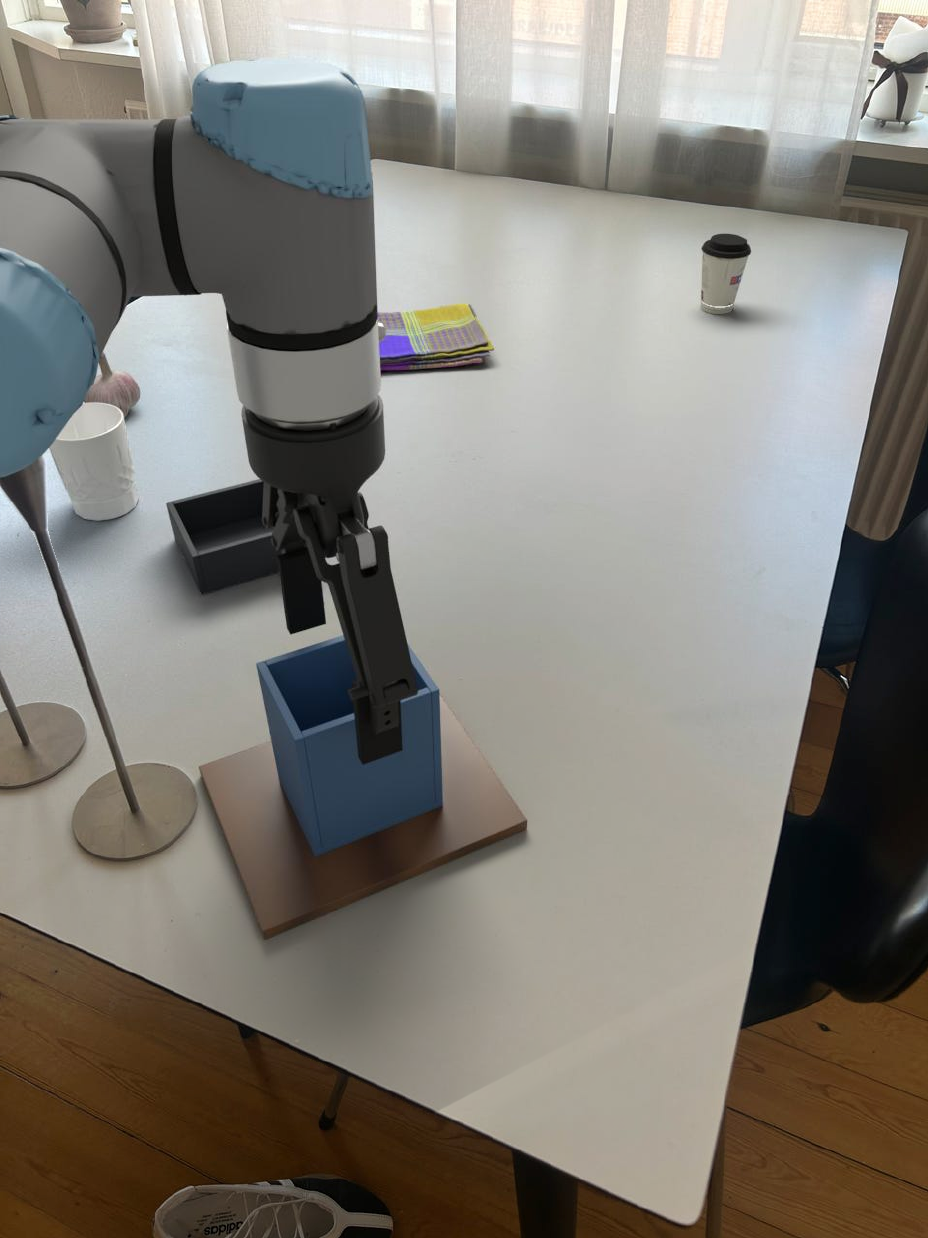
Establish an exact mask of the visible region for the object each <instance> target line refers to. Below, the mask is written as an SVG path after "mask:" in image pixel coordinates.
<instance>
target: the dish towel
mask: <svg viewBox="0 0 928 1238" xmlns="http://www.w3.org/2000/svg"><path fill="white" fill-rule="evenodd" d="M378 323H382V325H383V326H384V328H385V329H386V337H385V339H384V340H382V341H380V342H379V356H380V372H383V371H404V370H406V371H407V370H421V369H423V370H424V369H436V368H437V369H438V368H450V367H452V368H453V367H460V366H464V365H465V366H466V365H471V364H481V363H483V357H490V356H491V352H493V351H495V347H494V346H493V343H492V341H491V340H490V339H489V337H488V335H487V333H486V332H485V330H484V328H483V326H482V323H481V322H480V321H479V319H478V315H477V313H476V310H475V308H474V307H473V306H472V304H469V303H466V302H461V303H455V304H450V305H445V306H440V307H439V306H438V307H432V308H425V309H413V310H409V311H394V312H393V311H392V312H378Z"/></svg>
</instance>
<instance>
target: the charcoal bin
mask: <svg viewBox="0 0 928 1238" xmlns="http://www.w3.org/2000/svg"><path fill="white" fill-rule="evenodd" d="M263 487H264V481H262V480H261V479H260V478H258V479H255V480H250V481H246V482H243V483H239V484H235V485H231V486H227V487H224V488H218V489H215V490H211V491H207V492H204V493H203V492H202V493H200V494H195V495H192V496H188V497H184V498H180V499H176V500H172V501H168V502H166V504H165V505H166V509H167V514H168V518H169V521H170V526H171V529H172V534H173V537H174V541H175V543H176V545H177V547H178V549H179V551H180V554H181V555H182V557H183V560H184V562H185V564H186V566H187V568H188V570H189V572H190V575H191V577H192V580H193V581H194V583H195V585H196V588H197V590H198V591H199V593H200V595H201V596H202V595H206V594H209V593H213V592H217V591H219V590H224V589H226V588H231V587H233V586H237V585H241V584H244V583H248V582H251V581H254V580H258V579H261V578H264V577H268V576H271V575H275V574H279V569H278V562H277V555H281V550H279V551H276V549H275V547H273V545H272V541H271V540H272V538H271V536H272V533H273V530H274V528H272V529H266V527H265V525H263V522H262V518H263V517H262V508H263ZM306 547H307V543H305V548H306Z"/></svg>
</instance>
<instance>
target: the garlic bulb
mask: <svg viewBox="0 0 928 1238" xmlns="http://www.w3.org/2000/svg"><path fill="white" fill-rule="evenodd" d="M98 366H99V369H100V373H101V374H97V375H96V378H95V381H94V384H93V385H92V386H91V387H90V388H89V390H88V392H87V395H86V397H85V400H84V402H83V403H106V404H110V405H113V406H116V407H117V408H119V409H120V410H121V411H122V413H123V416H124V419H125V418H126V417H127V416H128V414H129V410H130V409H131V408H133V407H135V406H136V405H137V404H138V403H139V400H140V399H141V388H140V386H139V384H138V382H136V380H135V378H134V377H133V376H132V375H131V374H130V373H129V372H127V371H123V370H112V369H111V367H110V364H109V361H108V358H107V357H106V353H105V352H104V351H103V353H102V355H101V358H100V360H99V363H98Z"/></svg>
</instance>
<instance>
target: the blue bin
mask: <svg viewBox="0 0 928 1238" xmlns="http://www.w3.org/2000/svg"><path fill="white" fill-rule="evenodd" d="M408 648H409V653H410V657H411V662H412V666H413V671H414V675H415V679H416V682H417V686H418V688H417V689H418V694H417V695H415V696H412V697H409V698H406V699H403V700H401V701H400V702H401V723H402V744H403V751H400V752H397V753H394V754H392V755H389V756H386V757H383V758H381V759H378V760H375V761H372V762H370V763H367V764H364V765H362V763H361V761H360V759H359V757H358V749H357V738H356V728H355V717H354V706H353V701H352V700H351V699H350V697H349V695H348V693H347V690H349V689H352V684H351V681H354V680H357V678H356V675H355V671H354V668H353V665H352V662H351V658H350V655H349V652H348V648H347V645H346V642H345V639H344V635H343V634H342V635H339V636H336V637H333V638H329V639H327V640H324V641H321V642H317V643H314V644H311V645H307V646H305V647H301V648H298V649H295V650H293V651H289V652H287V653H284V654H283V653H282V654H279V655H277V656H273V657H271V658H268V659H265V660H262V661H259V662H256V663H255V665H256V670H257V676H258V681H259V686H260V690H261V695H262V700H263V707H264V712H265V715H266V721H267V726H268V729H269V730H268V731H269V736H270V741H271V742H272V747H273V752H274V757H275V762H276V767H277V772H278V777H279V780H280V782H281V785H282V787H283V789H284V791H285V793H286V795H287V797H288V800H289V802H290V804H291V806H292V808H293V810H294V813H295V815H296V817H297V819H298V821H299V823H300V826H301V828H302V830H303V832H304V834H305V836H306V839H307V841H308V843H309V845H310V847H311V849H312V851H313V854H314V856H315V857H316V856H319V855H321V854H323V853H326V852H328V851H331V850H333V849H336V848H338V847H341V846H343V845H346V844H348V843H351V842H353V841H356V840H358V839H361V838H363V837H366V836H368V835H371V834H373V833H376V832H378V831H381V830H383V829H386V828H388V827H391V826H393V825H396V824H398V823H401V822H403V821H406V820H408V819H411V818H413V817H416V816H418V815H421V814H423V813H426V812H428V811H431V810H433V809H436V808H438V807H441V806H443V791H442V759H441V726H440V694H441V693H440V688H439V687H438V685H437V684H436V682H435V681H434V680H433V678H432V677H431V675H430V674H429V672H428V671H427V669H426V667H424V665H423V663H422V662H421V661H420V659H419V658H418V657H417V655H416V654H415V652H414V651H413V650H412V648H411V647H410V645H409V644H408ZM439 693H440V694H439Z"/></svg>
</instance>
